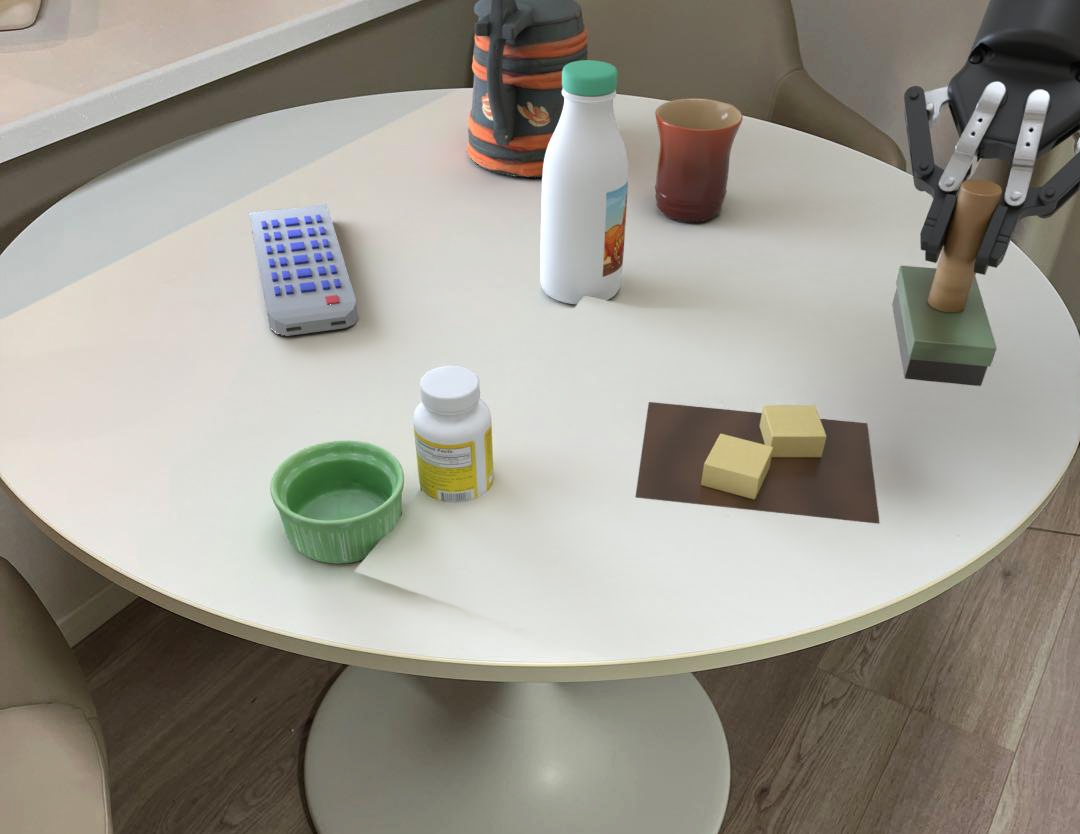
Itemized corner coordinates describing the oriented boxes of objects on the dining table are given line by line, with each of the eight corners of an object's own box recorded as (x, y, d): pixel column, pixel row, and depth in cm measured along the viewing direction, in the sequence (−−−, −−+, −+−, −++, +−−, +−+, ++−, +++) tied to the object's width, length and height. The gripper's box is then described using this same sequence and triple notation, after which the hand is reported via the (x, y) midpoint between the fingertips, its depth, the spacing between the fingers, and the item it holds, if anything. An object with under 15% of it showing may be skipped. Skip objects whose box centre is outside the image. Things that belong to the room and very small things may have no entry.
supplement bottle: (460, 461, 80) (454, 350, 74) (509, 494, 77) (507, 381, 71) (404, 492, 77) (393, 380, 71) (453, 528, 74) (446, 414, 68)
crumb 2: (810, 426, 81) (815, 404, 80) (821, 457, 78) (827, 436, 77) (759, 426, 81) (763, 404, 80) (768, 457, 78) (772, 436, 77)
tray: (863, 438, 83) (867, 422, 82) (875, 539, 74) (879, 523, 73) (647, 417, 85) (648, 401, 84) (633, 513, 76) (635, 496, 75)
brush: (962, 309, 75) (1010, 157, 67) (983, 388, 67) (1040, 227, 60) (890, 303, 75) (930, 151, 68) (903, 380, 68) (949, 220, 61)
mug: (704, 236, 108) (716, 137, 101) (631, 214, 112) (638, 116, 105) (757, 197, 116) (772, 101, 109) (688, 177, 119) (698, 83, 112)
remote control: (329, 221, 110) (327, 201, 109) (361, 329, 94) (359, 307, 93) (252, 230, 109) (248, 209, 107) (271, 341, 93) (267, 318, 91)
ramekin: (254, 548, 73) (242, 500, 70) (324, 474, 79) (317, 426, 76) (367, 586, 70) (360, 537, 67) (431, 506, 76) (427, 458, 73)
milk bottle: (578, 315, 96) (588, 89, 83) (522, 284, 100) (524, 64, 87) (637, 289, 100) (656, 69, 87) (581, 260, 104) (591, 46, 91)
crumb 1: (769, 468, 77) (773, 446, 76) (754, 500, 75) (759, 478, 73) (717, 454, 79) (720, 432, 77) (700, 485, 76) (703, 463, 75)
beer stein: (570, 204, 114) (576, 3, 100) (440, 189, 116) (428, -9, 103) (603, 137, 127) (612, -47, 114) (486, 126, 130) (481, -56, 116)
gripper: (943, -54, 64) (841, 214, 64) (1194, -20, 59) (1082, 270, 59) (941, 17, 71) (849, 258, 71) (1164, 53, 66) (1065, 311, 66)
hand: (955, 262), depth 65 cm, fingers closed on brush, 2 cm apart
